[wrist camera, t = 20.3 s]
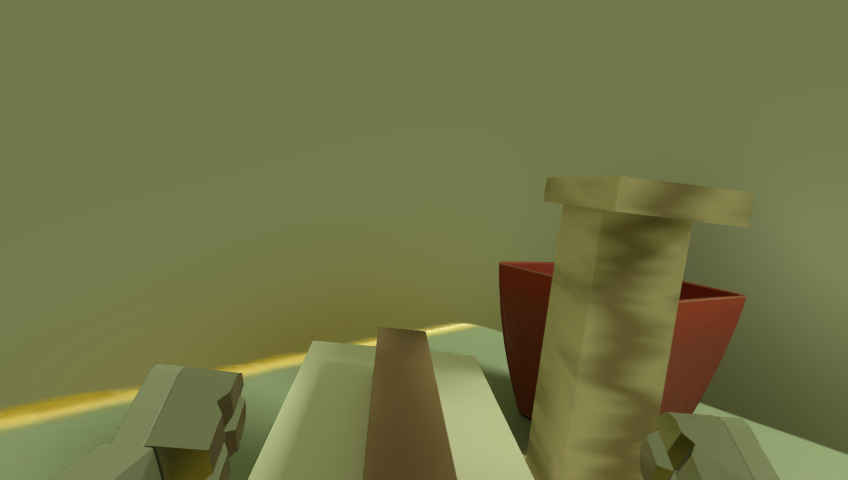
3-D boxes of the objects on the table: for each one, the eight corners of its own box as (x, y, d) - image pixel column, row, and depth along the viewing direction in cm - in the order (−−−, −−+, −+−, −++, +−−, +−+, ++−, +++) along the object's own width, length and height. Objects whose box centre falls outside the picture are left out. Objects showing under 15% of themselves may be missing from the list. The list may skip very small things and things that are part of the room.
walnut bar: (419, 376, 34) (425, 331, 34) (467, 722, 12) (484, 605, 12) (373, 372, 34) (378, 326, 34) (338, 716, 12) (352, 597, 12)
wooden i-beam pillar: (604, 483, 47) (652, 189, 44) (693, 609, 33) (771, 194, 31) (493, 474, 46) (535, 175, 44) (537, 600, 33) (603, 173, 30)
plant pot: (575, 382, 73) (594, 260, 71) (722, 445, 58) (750, 294, 56) (474, 405, 61) (494, 260, 59) (628, 493, 46) (660, 303, 44)
